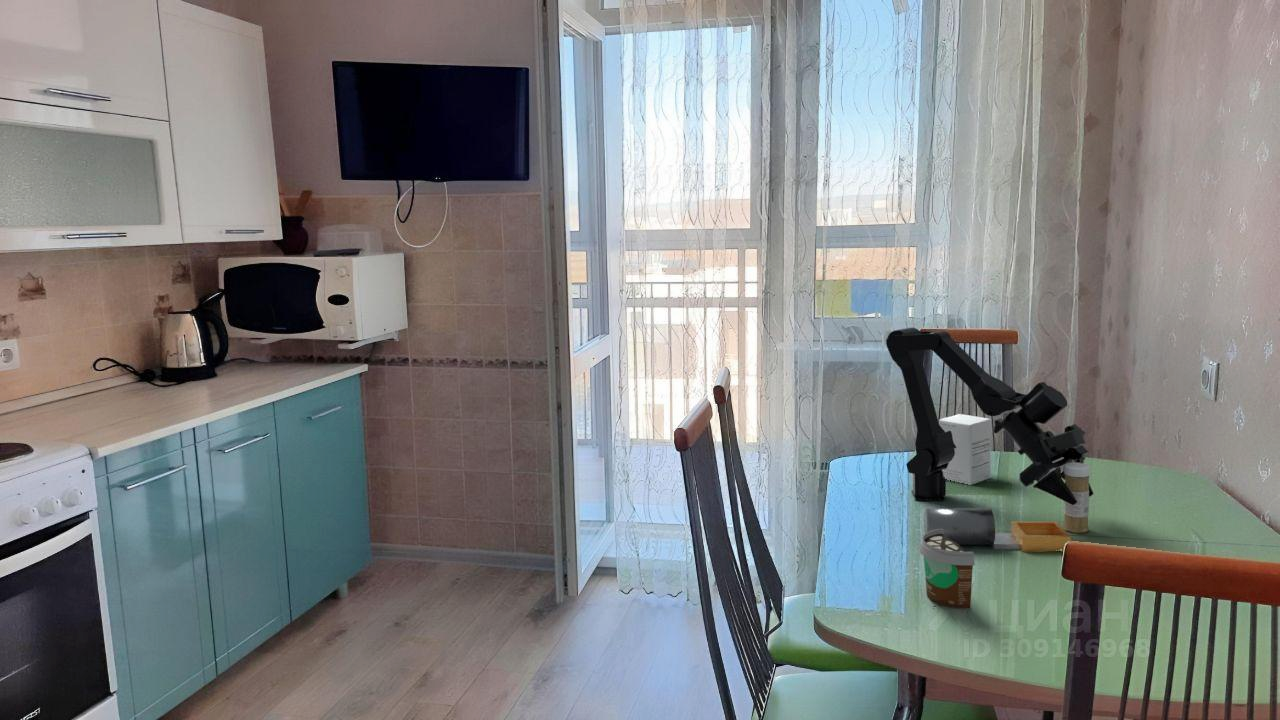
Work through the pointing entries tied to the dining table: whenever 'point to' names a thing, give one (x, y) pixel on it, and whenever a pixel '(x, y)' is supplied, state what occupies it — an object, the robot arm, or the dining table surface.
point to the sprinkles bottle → (1077, 497)
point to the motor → (980, 530)
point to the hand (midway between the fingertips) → (1083, 499)
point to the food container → (946, 570)
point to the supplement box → (968, 448)
